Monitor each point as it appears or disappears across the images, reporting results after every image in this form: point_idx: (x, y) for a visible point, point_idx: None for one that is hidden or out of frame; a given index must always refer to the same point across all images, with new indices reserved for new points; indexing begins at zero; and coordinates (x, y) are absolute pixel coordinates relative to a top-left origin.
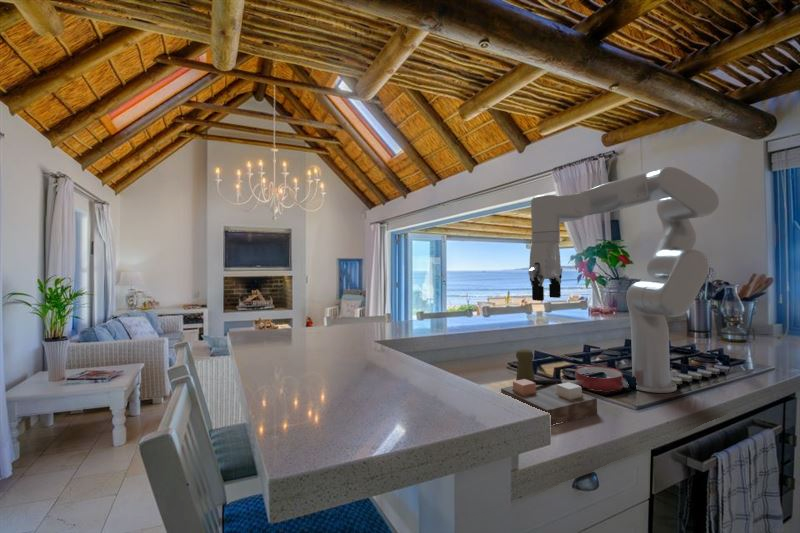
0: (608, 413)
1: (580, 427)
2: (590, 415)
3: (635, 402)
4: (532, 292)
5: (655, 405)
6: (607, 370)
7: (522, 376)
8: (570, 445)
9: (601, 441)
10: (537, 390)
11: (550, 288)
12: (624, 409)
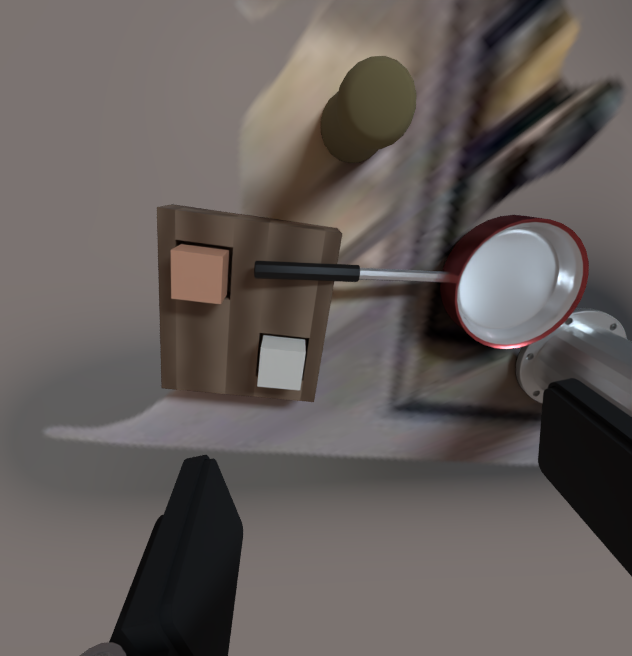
0: (332, 391)
1: (228, 401)
2: None
3: (432, 388)
4: (160, 530)
5: (443, 415)
6: (573, 279)
7: (330, 133)
8: (155, 431)
9: (213, 446)
10: (240, 289)
11: (627, 468)
12: (377, 396)
